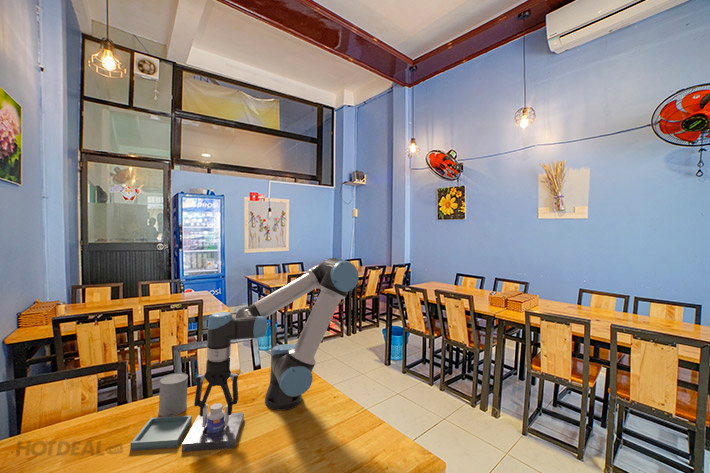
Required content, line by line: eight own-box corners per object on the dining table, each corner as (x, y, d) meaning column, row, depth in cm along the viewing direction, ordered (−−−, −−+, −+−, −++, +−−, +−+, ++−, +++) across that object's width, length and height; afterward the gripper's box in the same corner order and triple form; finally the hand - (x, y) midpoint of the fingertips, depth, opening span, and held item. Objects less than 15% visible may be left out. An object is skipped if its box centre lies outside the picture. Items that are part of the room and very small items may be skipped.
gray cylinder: (173, 418, 115) (175, 385, 115) (152, 414, 117) (153, 382, 117) (192, 405, 124) (193, 374, 124) (171, 401, 126) (173, 371, 126)
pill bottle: (212, 441, 104) (214, 412, 104) (203, 435, 107) (204, 407, 106) (227, 433, 108) (228, 405, 108) (217, 427, 111) (218, 400, 111)
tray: (191, 422, 113) (191, 415, 113) (176, 447, 100) (177, 439, 100) (150, 424, 111) (151, 417, 111) (130, 450, 98) (130, 442, 98)
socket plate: (243, 419, 117) (243, 412, 117) (234, 448, 101) (234, 440, 101) (198, 421, 114) (198, 414, 114) (181, 451, 98) (181, 444, 98)
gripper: (184, 363, 102) (181, 432, 102) (245, 361, 105) (242, 429, 105) (192, 354, 109) (189, 419, 109) (249, 353, 113) (246, 416, 113)
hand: (215, 424), depth 107 cm, fingers open, 6 cm apart
